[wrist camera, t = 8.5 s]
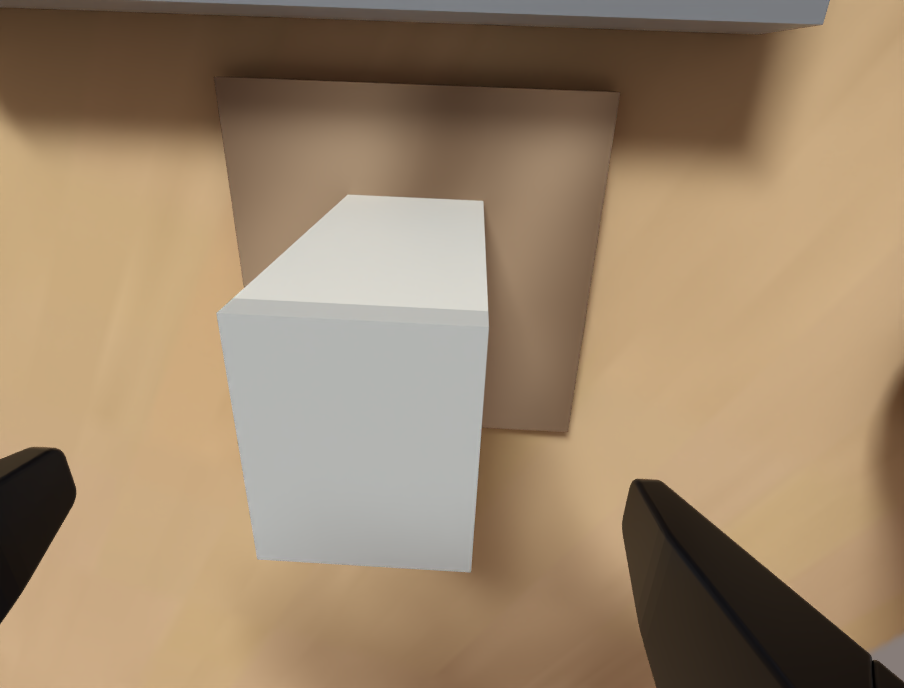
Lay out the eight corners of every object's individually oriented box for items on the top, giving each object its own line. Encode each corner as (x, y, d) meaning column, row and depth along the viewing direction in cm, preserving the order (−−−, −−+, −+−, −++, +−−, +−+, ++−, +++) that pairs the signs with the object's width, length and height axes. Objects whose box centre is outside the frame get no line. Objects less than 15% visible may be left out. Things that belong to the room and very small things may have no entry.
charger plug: (483, 201, 16) (488, 326, 8) (473, 356, 18) (470, 577, 10) (347, 194, 16) (217, 313, 8) (354, 350, 18) (258, 564, 10)
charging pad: (615, 91, 15) (620, 92, 15) (565, 422, 20) (567, 432, 19) (223, 76, 15) (213, 76, 15) (267, 406, 20) (261, 415, 20)
